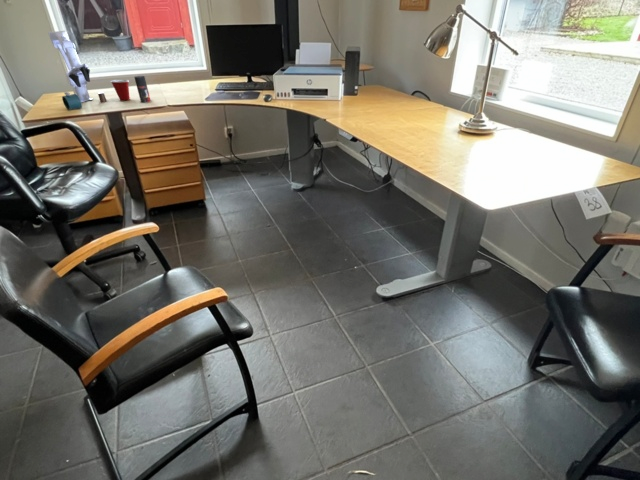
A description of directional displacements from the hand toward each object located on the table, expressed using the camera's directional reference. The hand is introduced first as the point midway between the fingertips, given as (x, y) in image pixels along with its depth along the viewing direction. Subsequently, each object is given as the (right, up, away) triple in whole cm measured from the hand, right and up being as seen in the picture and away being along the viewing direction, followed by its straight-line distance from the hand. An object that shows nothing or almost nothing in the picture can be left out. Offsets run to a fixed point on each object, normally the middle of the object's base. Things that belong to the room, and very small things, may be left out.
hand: (83, 84), depth 230 cm
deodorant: (+31, -6, +14) cm, 35 cm away
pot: (-5, -9, +2) cm, 11 cm away
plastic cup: (+15, -2, +20) cm, 25 cm away
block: (+2, -4, +17) cm, 18 cm away
